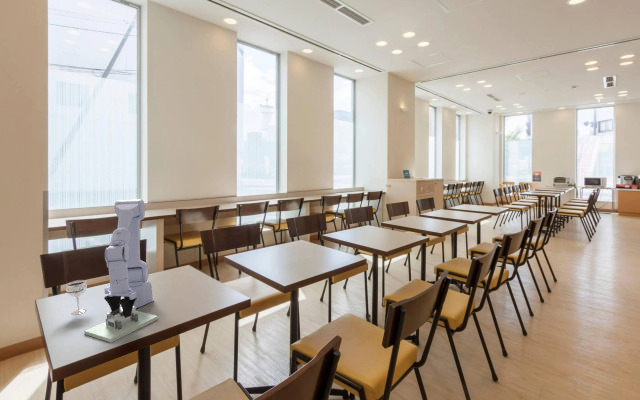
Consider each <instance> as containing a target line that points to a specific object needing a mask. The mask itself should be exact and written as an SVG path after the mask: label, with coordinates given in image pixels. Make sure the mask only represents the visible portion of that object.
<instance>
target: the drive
mask: <svg viewBox="0 0 640 400" xmlns="http://www.w3.org/2000/svg"><path fill="white" fill-rule="evenodd" d="M136 309H137V308H136ZM136 309H135V306H133V308H132V313H131V316H129V317H127V318H124V315H123V310H122V307H121V306H120V308H119V309H117V310H114V311H109V312H107V313H106V319H107V325H108V327H109V328H112V329H117V328H118V326H117V322H118V321H121V325H122V326H124V325H126V324H128V323H130V322H132V321H134V320H135V318H134V314H136V311H137V310H136Z"/></svg>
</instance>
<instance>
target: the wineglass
mask: <svg viewBox="0 0 640 400" xmlns="http://www.w3.org/2000/svg"><path fill="white" fill-rule="evenodd" d="M65 286H66V287H65V292H66V293H67V295H69V296H72V297H75V299H76V305H77V309H76V310H75V311H72V312H71V313H70V315H73V316H74V315H75V316H76V315H81V314H84V313H86V312H87V309H85V308H84V309H80V296H81V295H83V294H84V293H85V292H86V291H87V288H88V285H87V280H85V279H78V280H72V281H70V282H67V283H66V284H65Z"/></svg>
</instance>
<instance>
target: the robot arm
mask: <svg viewBox="0 0 640 400" xmlns="http://www.w3.org/2000/svg"><path fill="white" fill-rule="evenodd" d="M145 210H146V209H145V201H144V200H143V199H141V198H140V199H124V200H123V199H121V200H120V199H117V200H116V201H115V202H114V213H115V214H116V216H117V218H118V219H117V228H116V229H114V230H113V231H112V234H111V238H110V242H109V245H108V247H106V248H105V250H104V261H105V263H106V268H108V275H109V276H108V277H109V286H108V287H106V288H103V289H104V294H105V296H104V297H103V299H104V300H105V301H106V303H107V304H108V306H109V308H110V310H111V311H110V312H112V311H114V310H117V309H119V308H121V307H122V310H123V315H124V318H127V317H129V316H131V313H132V308H133V306H135V309H137V308H138V309H139V308H140V307H142V306H146V305H147V304H150V303H152V302H154V301H155V299H154V298H153V287H152V283H151V282H150V281H149V275H150V274H149V269H148V268H149V266H148V264H147V262H145V261H143V260H141V247H140V246H141V237H140V236H141V234H140V231H141V230H140V224H141V221H142V220H144V219H145V217H146V213H145Z"/></svg>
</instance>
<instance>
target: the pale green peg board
mask: <svg viewBox="0 0 640 400" xmlns="http://www.w3.org/2000/svg"><path fill="white" fill-rule="evenodd" d="M134 318H135V320H134V321H132V322H130V323H128V324H126V325H124V326H122V325H121V321H118V322H117V326H118V328H117V329H112V328H109V327H108V325H107V318H105V321H104V322H101V323H99V324H97V325H94V326H93V327H89V328H88V329H85V330H84V331H83V332H84V335H86V336H90V337H93V338H95V339H99V340H102V341H105V342H106V343H107V342H108V343H113V342H115V341H117V340H119V339H121V338H124V337H125V336H127V335H129V334H131V333H133V332H134V331H137V330H139V329H140V328H143V327H145V326H147V325H149V324H151V323H153V322H155V321H158V319H159V317H158V315H155V314H151V313H147V312H142V311H139V310H136V314H134Z"/></svg>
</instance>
